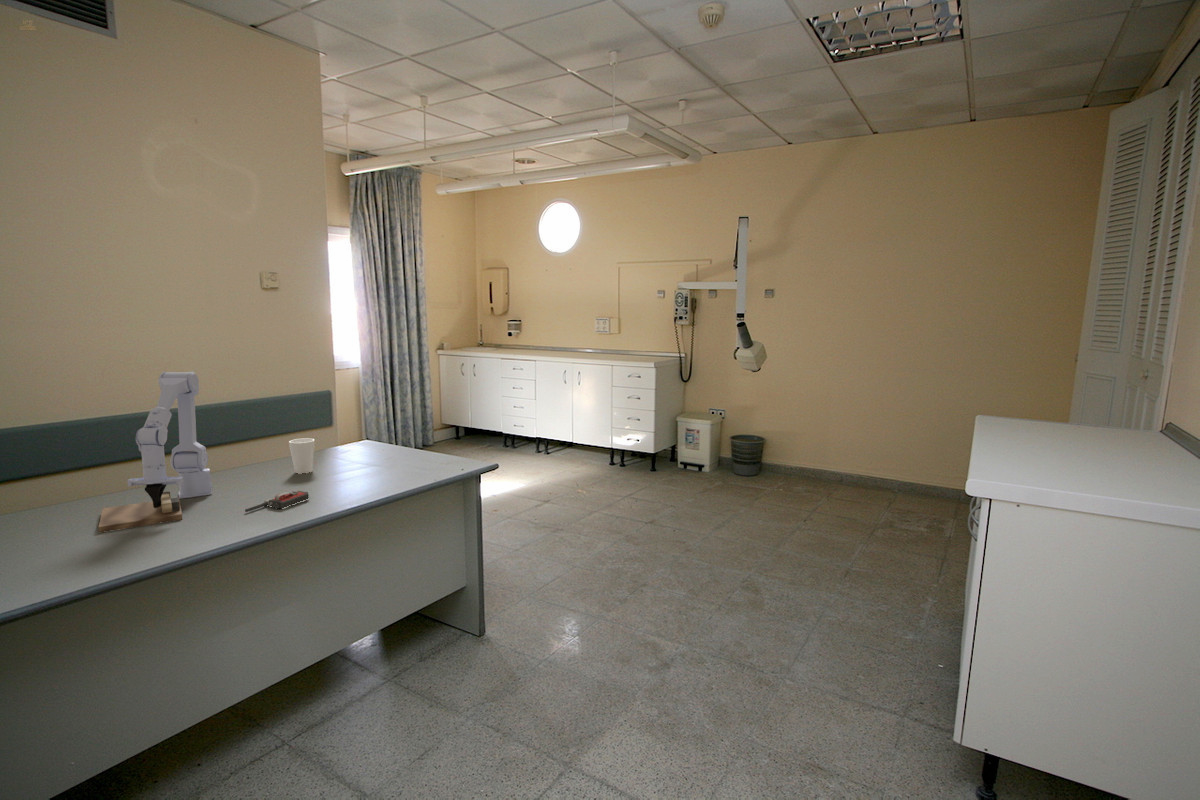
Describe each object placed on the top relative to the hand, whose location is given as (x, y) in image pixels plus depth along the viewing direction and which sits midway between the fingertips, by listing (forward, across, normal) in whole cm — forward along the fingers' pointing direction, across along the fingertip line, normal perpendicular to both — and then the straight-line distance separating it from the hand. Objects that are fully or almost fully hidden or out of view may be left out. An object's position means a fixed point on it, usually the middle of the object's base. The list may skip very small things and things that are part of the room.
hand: (157, 506), depth 187 cm
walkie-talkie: (+4, +34, +6) cm, 34 cm away
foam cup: (+3, +30, +49) cm, 58 cm away
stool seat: (+3, -5, +1) cm, 6 cm away
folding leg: (+1, 0, +4) cm, 4 cm away
